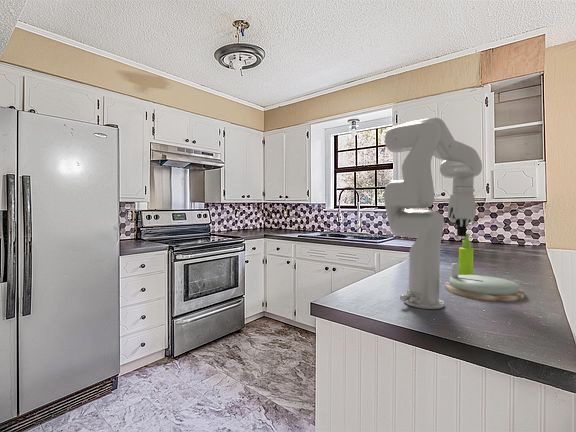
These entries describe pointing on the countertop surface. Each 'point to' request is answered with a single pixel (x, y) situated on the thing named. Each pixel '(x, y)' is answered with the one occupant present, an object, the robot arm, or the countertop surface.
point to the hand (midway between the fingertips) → (461, 235)
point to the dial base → (485, 296)
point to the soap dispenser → (466, 257)
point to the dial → (482, 283)
